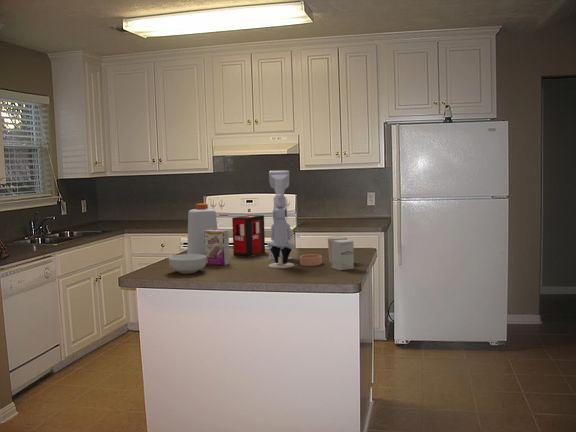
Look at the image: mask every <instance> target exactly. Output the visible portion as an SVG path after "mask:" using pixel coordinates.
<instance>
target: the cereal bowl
mask: <svg viewBox="0 0 576 432" xmlns="http://www.w3.org/2000/svg"><path fill="white" fill-rule="evenodd" d="M206 259H207V257H206V256H205V255H200V254H187V253H185V254H183V253H182V254H176V255H175V254H174V255H171V256H169V257H168V264H169V267H170V268H171V269H172V270H173V271H176V272H178V273H179V274H184V275H186V274H195V273H197V272H198V271H200V270H202V269H203V268H204V267H206V265H207V264H206Z"/></svg>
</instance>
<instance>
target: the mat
mask: <svg viewBox="0 0 576 432" xmlns="http://www.w3.org/2000/svg"><path fill="white" fill-rule="evenodd" d="M293 264H294V266H293V267H297V266H299V264H297V263H296V264H295V263H293ZM263 267H264V268H270V269H272V268H271V267H269V264H268V265H265V266H263ZM293 267H292V268H293ZM289 268H290V269H291V267H289ZM289 268H276V269H279V270H287V269H289Z"/></svg>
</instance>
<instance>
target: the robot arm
mask: <svg viewBox="0 0 576 432" xmlns="http://www.w3.org/2000/svg"><path fill="white" fill-rule="evenodd" d="M268 176H269V179H268V180H269V181H268V182H269V186H270V188H272V189H274V193H275V196H274V197H273V209H272V220H273V224H271V226H270V240H271V241H269V242H266V243H267V244H266V247H267V248H268V258H267V259H268V260H272V261H273V260H274V263H278V257H279V256H283V264H287V263H288V261H289V260H290V259H292V257H290V254H291V252H292V251H293V250H295V248H296V246H295V245H296V244H295V243H289V241H291V239H292V235H291V234H292V233H291V231H292V230H291V225H290V224H289V223H288V222H287V220H288V207H287V198H286V196H285V191H286V189H287V188H289V186H290V170H270V171H269V173H268Z"/></svg>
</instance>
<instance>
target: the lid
mask: <svg viewBox="0 0 576 432" xmlns="http://www.w3.org/2000/svg"><path fill="white" fill-rule="evenodd" d="M294 264H295V263H293V262H287V264H283V256H279V257H278V263H276V262H272V263H270V264H268V265H269V267H271V268H270V269H277V268H287V269H289V267H290V268H293V266H294ZM294 267H295V266H294Z"/></svg>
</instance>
